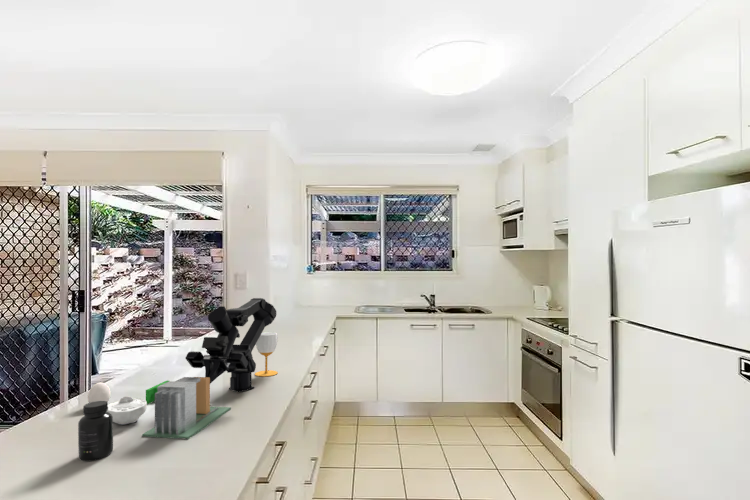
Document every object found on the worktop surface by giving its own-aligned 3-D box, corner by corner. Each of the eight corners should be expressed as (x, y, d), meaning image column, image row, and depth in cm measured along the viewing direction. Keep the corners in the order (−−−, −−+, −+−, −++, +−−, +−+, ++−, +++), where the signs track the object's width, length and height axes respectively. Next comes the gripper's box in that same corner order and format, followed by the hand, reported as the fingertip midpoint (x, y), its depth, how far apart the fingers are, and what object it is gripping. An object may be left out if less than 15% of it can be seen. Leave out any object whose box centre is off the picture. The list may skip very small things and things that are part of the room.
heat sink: (195, 410, 129) (195, 369, 129) (219, 411, 128) (219, 370, 128) (152, 436, 110) (152, 388, 110) (180, 437, 109) (180, 389, 109)
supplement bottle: (89, 449, 102) (89, 399, 103) (118, 448, 103) (119, 398, 103) (71, 462, 96) (71, 409, 96) (102, 461, 96) (103, 408, 96)
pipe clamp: (156, 404, 135) (156, 390, 135) (145, 404, 136) (145, 390, 136) (176, 393, 146) (176, 380, 147) (166, 393, 147) (166, 380, 147)
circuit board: (191, 407, 131) (191, 405, 131) (230, 409, 129) (230, 407, 129) (142, 436, 110) (142, 434, 110) (188, 439, 108) (188, 436, 108)
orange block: (194, 410, 126) (194, 376, 126) (209, 411, 125) (209, 377, 125) (190, 413, 124) (190, 378, 124) (206, 413, 123) (206, 379, 123)
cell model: (103, 433, 112) (103, 407, 113) (107, 418, 123) (107, 395, 123) (146, 426, 117) (146, 401, 117) (147, 412, 128) (147, 389, 128)
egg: (82, 409, 131) (83, 384, 132) (101, 402, 137) (101, 379, 137) (96, 411, 129) (97, 386, 130) (115, 404, 135) (115, 380, 135)
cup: (274, 376, 166) (275, 335, 166) (251, 376, 166) (252, 335, 166) (280, 370, 175) (280, 331, 176) (258, 371, 175) (258, 331, 176)
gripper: (188, 326, 135) (166, 369, 124) (243, 326, 133) (225, 371, 121) (202, 346, 143) (182, 388, 132) (254, 347, 140) (238, 390, 129)
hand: (206, 384), depth 128 cm, fingers closed
